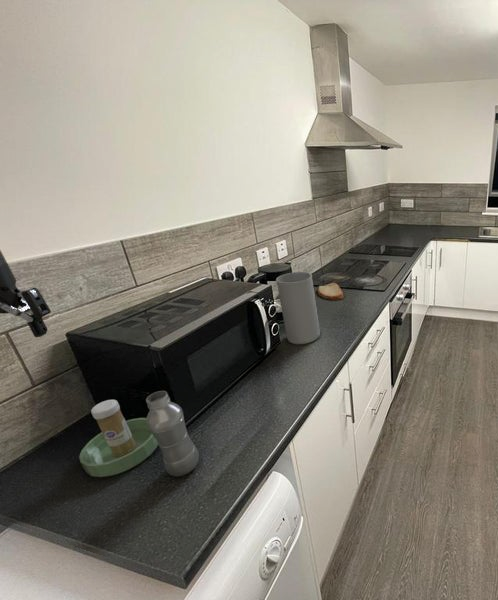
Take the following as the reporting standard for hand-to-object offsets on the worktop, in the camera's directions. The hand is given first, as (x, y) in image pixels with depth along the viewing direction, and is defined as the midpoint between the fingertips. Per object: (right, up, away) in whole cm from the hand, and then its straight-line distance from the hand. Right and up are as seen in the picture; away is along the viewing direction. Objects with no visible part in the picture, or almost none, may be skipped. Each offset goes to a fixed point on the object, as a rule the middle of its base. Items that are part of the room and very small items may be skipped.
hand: (18, 337), depth 68 cm
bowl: (+16, -29, +9) cm, 34 cm away
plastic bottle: (+33, -30, +4) cm, 45 cm away
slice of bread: (+45, +12, +102) cm, 112 cm away
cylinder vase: (+44, -7, +59) cm, 73 cm away
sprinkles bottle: (+16, -28, +9) cm, 33 cm away
